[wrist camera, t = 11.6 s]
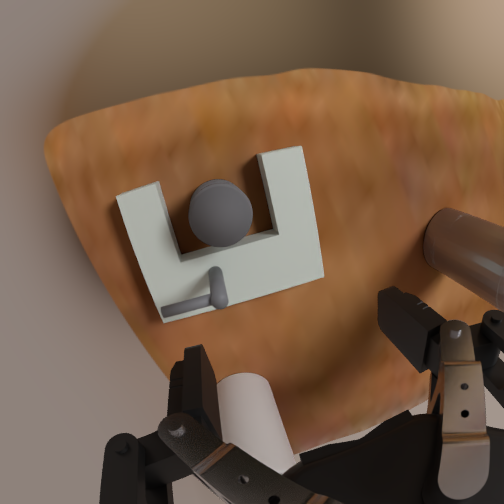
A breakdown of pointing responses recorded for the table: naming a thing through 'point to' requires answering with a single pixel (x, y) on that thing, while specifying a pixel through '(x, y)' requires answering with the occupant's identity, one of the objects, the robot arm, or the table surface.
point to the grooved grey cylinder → (220, 213)
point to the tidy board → (232, 257)
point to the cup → (254, 420)
